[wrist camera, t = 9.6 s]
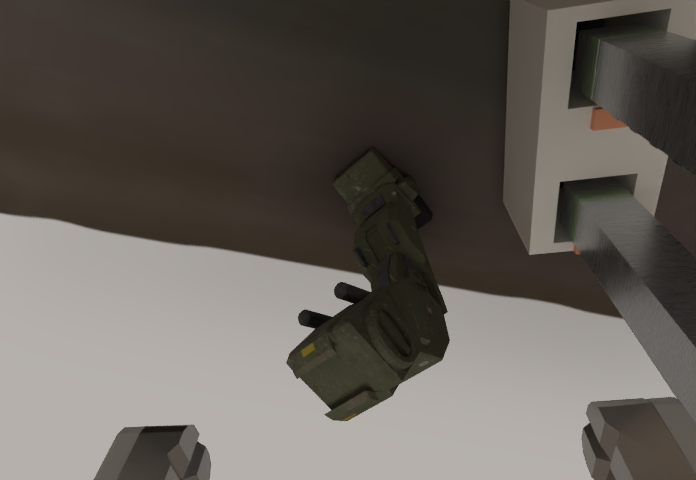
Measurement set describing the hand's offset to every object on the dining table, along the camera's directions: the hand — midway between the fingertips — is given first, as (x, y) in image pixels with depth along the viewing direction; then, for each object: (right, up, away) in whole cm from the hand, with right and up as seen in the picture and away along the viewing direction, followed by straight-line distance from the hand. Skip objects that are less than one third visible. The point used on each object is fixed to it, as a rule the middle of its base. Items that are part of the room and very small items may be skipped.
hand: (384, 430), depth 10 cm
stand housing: (+19, +17, +35) cm, 43 cm away
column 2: (+20, +8, +31) cm, 38 cm away
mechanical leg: (+3, +9, +41) cm, 42 cm away
